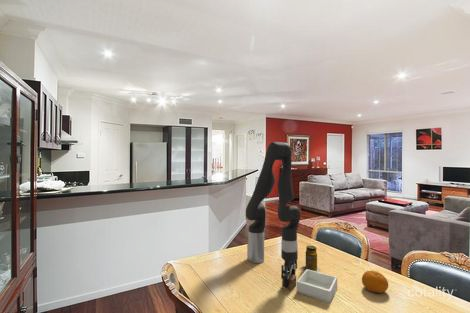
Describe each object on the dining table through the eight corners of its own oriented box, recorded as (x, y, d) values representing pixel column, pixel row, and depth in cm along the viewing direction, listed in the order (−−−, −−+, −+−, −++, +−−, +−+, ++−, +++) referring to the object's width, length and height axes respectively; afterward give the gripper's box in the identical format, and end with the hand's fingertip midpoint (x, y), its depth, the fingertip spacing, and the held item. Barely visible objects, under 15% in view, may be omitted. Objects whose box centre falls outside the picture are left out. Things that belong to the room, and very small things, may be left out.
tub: (296, 292, 109) (296, 281, 109) (306, 279, 121) (306, 269, 121) (330, 303, 101) (330, 291, 101) (337, 287, 113) (337, 277, 113)
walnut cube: (282, 287, 114) (282, 276, 114) (286, 282, 118) (286, 272, 118) (292, 290, 111) (292, 279, 111) (296, 285, 115) (296, 275, 115)
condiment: (320, 269, 131) (320, 247, 131) (310, 274, 126) (310, 251, 126) (309, 264, 137) (309, 243, 137) (299, 268, 133) (299, 246, 133)
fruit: (388, 299, 104) (388, 280, 104) (361, 292, 110) (361, 274, 110) (388, 288, 113) (388, 270, 113) (362, 281, 118) (362, 265, 118)
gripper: (287, 242, 122) (287, 274, 122) (275, 251, 111) (276, 287, 110) (302, 245, 118) (302, 278, 118) (291, 255, 106) (291, 292, 106)
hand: (289, 282), depth 114 cm, fingers open, 8 cm apart
